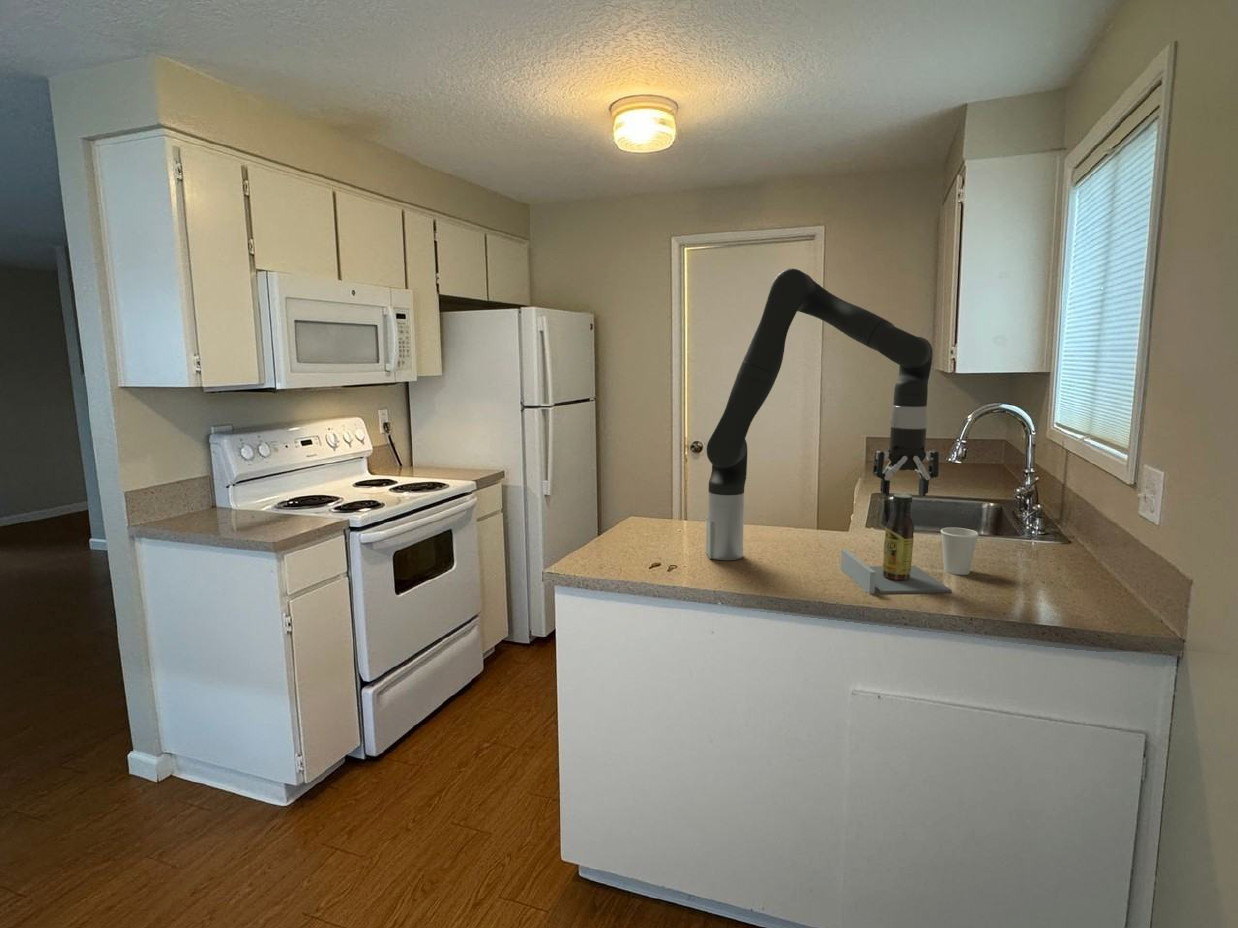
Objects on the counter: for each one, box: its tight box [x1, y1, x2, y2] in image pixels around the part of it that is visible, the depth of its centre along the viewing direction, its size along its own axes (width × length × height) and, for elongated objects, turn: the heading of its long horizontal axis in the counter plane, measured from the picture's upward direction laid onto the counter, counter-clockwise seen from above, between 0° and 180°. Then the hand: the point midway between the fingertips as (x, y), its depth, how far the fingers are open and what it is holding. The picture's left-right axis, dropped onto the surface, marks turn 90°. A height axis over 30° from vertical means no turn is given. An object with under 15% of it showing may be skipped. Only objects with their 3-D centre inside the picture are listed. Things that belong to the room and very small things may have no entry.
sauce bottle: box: [882, 493, 915, 580], centre depth 165 cm, size 7×6×20 cm
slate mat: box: [869, 565, 952, 595], centre depth 166 cm, size 16×18×1 cm
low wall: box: [840, 549, 876, 595], centre depth 166 cm, size 1×18×5 cm, turn 2°
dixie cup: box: [940, 527, 979, 576], centre depth 172 cm, size 8×8×10 cm
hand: (903, 495), depth 163 cm, fingers open, 8 cm apart
